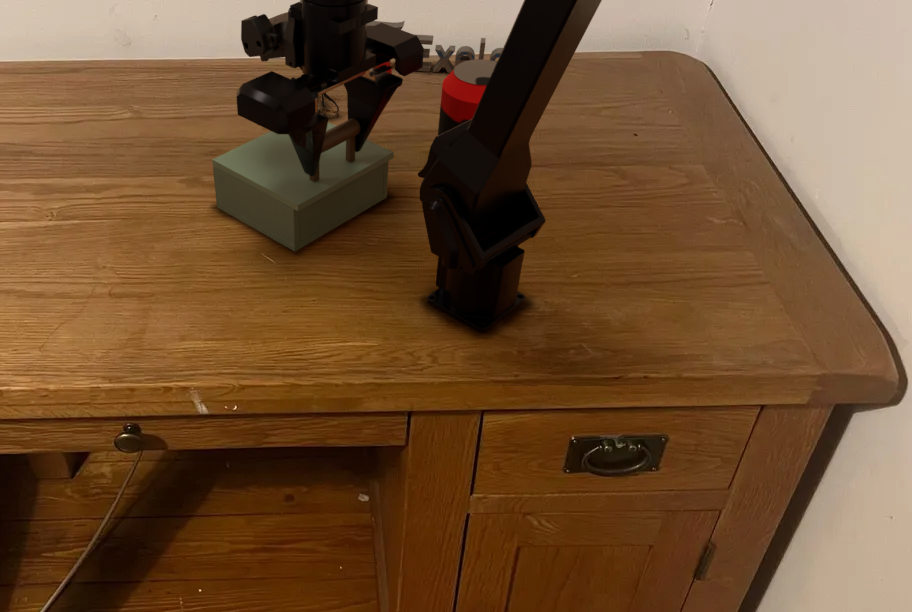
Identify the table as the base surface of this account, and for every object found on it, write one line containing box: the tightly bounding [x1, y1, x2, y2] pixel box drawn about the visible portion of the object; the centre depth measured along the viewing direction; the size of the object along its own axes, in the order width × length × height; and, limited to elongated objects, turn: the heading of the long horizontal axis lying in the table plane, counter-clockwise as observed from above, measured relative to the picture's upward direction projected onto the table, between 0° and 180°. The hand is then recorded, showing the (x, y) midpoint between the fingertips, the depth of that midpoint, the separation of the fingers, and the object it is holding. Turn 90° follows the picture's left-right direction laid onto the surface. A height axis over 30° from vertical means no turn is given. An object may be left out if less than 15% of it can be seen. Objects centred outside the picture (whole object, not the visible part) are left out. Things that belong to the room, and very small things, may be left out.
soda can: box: [437, 59, 497, 136], centre depth 92 cm, size 8×8×12 cm
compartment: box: [212, 160, 390, 252], centre depth 92 cm, size 11×13×5 cm
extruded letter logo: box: [367, 20, 503, 74], centre depth 114 cm, size 25×2×6 cm, turn 81°
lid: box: [211, 118, 395, 211], centre depth 89 cm, size 12×13×5 cm
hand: (333, 161), depth 87 cm, fingers closed on lid, 6 cm apart
